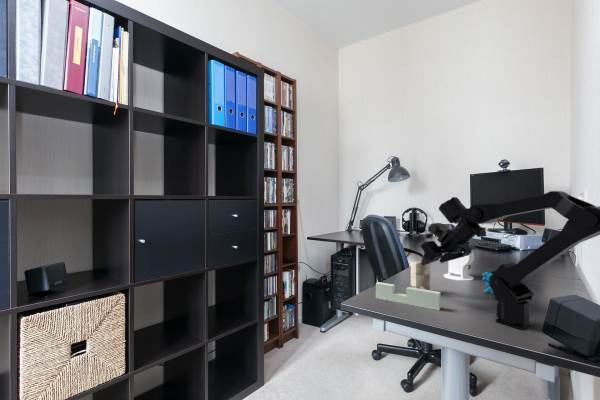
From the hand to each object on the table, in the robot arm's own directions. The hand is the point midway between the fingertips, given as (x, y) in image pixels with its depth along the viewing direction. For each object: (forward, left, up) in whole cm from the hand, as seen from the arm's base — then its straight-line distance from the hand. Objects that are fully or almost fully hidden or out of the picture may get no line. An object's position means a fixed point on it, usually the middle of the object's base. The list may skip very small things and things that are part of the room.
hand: (431, 263), depth 108 cm
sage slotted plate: (0, +13, -11) cm, 17 cm away
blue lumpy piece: (-11, -20, -12) cm, 26 cm away
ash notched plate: (+5, 0, -11) cm, 12 cm away
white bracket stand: (+10, -32, -12) cm, 36 cm away
